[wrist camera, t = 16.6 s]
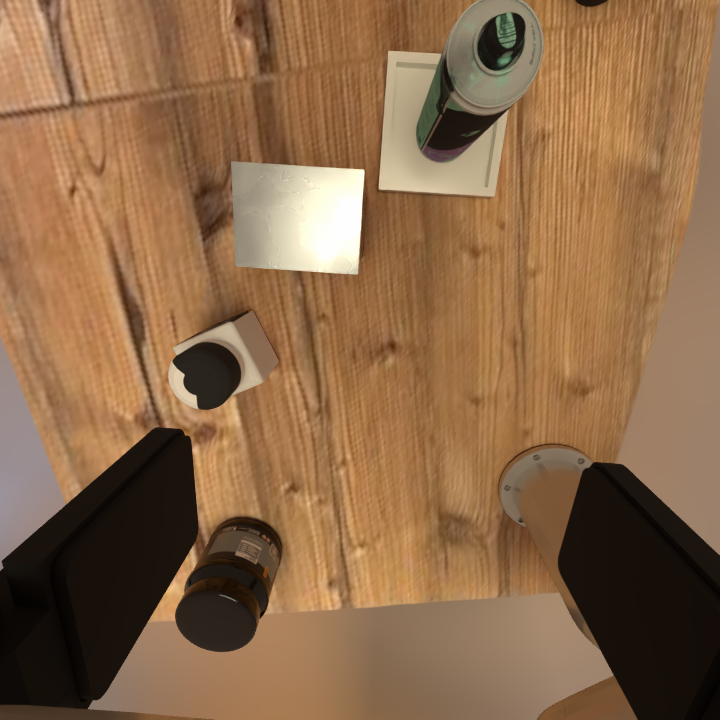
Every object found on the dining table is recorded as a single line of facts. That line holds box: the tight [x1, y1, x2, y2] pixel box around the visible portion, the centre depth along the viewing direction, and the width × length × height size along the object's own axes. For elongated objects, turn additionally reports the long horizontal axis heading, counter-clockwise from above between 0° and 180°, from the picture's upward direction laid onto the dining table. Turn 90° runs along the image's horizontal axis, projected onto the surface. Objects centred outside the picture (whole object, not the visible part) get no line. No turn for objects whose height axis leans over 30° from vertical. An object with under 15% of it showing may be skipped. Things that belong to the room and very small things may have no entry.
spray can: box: [416, 0, 543, 163], centre depth 29 cm, size 6×6×20 cm
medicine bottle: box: [168, 310, 279, 410], centre depth 41 cm, size 7×7×12 cm
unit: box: [231, 161, 367, 275], centre depth 34 cm, size 9×7×17 cm
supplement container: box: [175, 519, 282, 652], centre depth 50 cm, size 10×10×12 cm
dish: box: [379, 51, 508, 198], centre depth 38 cm, size 12×12×2 cm
